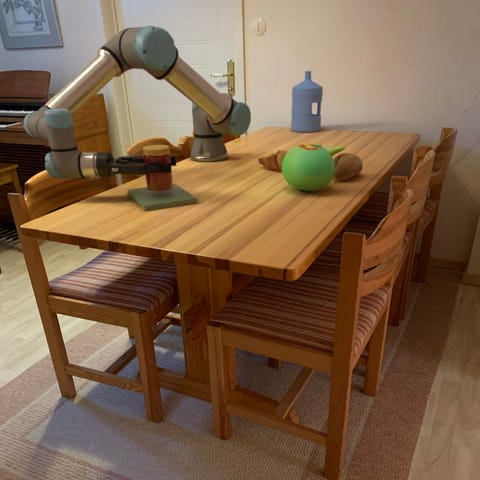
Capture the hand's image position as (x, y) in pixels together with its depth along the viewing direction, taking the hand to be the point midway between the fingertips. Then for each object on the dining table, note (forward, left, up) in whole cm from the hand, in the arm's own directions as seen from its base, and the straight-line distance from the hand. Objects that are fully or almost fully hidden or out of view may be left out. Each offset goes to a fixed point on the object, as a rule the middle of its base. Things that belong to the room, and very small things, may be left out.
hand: (173, 164), depth 145 cm
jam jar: (-2, -4, -7) cm, 8 cm away
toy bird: (+12, +41, -11) cm, 44 cm away
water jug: (-88, +103, -11) cm, 136 cm away
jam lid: (-2, -4, +5) cm, 7 cm away
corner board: (-2, -4, -10) cm, 11 cm away
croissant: (-16, +48, -11) cm, 52 cm away
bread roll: (+5, +60, -11) cm, 61 cm away
